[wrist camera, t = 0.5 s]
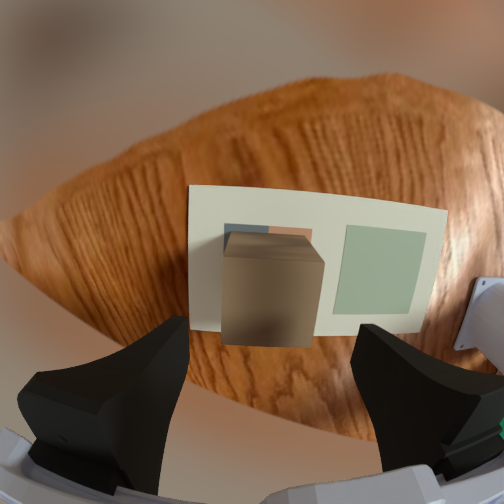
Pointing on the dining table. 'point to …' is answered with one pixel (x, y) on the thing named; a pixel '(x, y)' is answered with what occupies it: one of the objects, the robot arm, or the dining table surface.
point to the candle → (503, 425)
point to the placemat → (323, 253)
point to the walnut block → (270, 290)
